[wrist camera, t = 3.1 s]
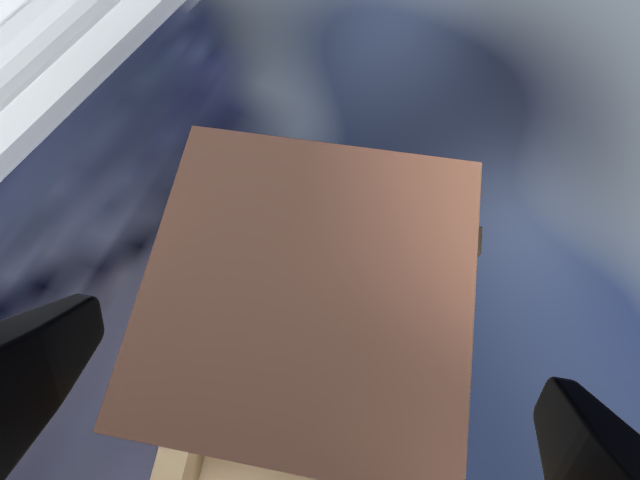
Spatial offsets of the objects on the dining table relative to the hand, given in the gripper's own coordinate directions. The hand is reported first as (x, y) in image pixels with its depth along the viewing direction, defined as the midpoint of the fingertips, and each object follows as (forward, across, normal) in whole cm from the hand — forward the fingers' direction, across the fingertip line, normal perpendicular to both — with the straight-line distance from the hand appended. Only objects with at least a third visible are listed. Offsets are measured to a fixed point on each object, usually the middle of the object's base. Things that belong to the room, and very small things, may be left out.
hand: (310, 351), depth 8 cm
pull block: (+6, 0, +5) cm, 8 cm away
